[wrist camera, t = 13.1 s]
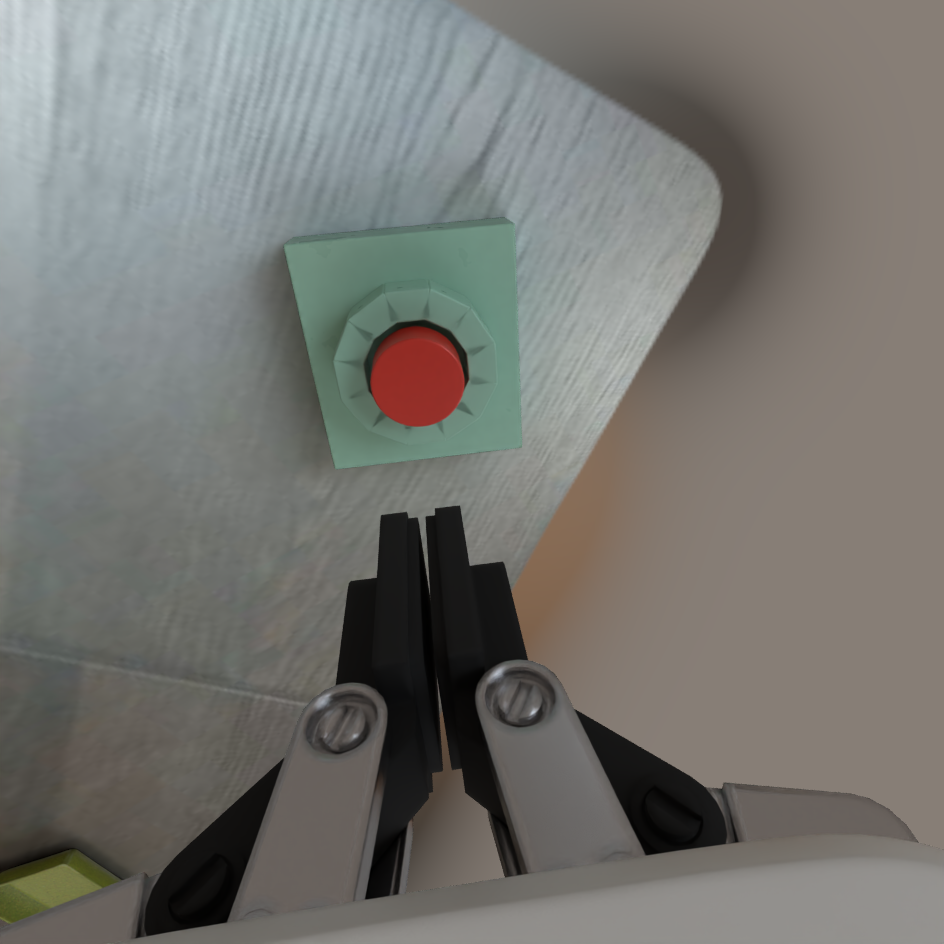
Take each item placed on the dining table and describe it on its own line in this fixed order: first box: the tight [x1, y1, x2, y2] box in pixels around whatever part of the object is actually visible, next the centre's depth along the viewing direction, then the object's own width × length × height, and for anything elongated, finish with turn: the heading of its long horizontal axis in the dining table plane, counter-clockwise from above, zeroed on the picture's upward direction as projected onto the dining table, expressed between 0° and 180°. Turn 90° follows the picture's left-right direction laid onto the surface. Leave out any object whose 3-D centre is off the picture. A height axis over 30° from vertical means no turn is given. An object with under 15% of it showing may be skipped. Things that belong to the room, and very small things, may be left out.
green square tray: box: [0, 849, 122, 924], centre depth 43 cm, size 9×9×2 cm
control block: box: [283, 217, 522, 469], centre depth 24 cm, size 10×9×4 cm
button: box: [370, 326, 465, 427], centre depth 22 cm, size 4×4×2 cm
